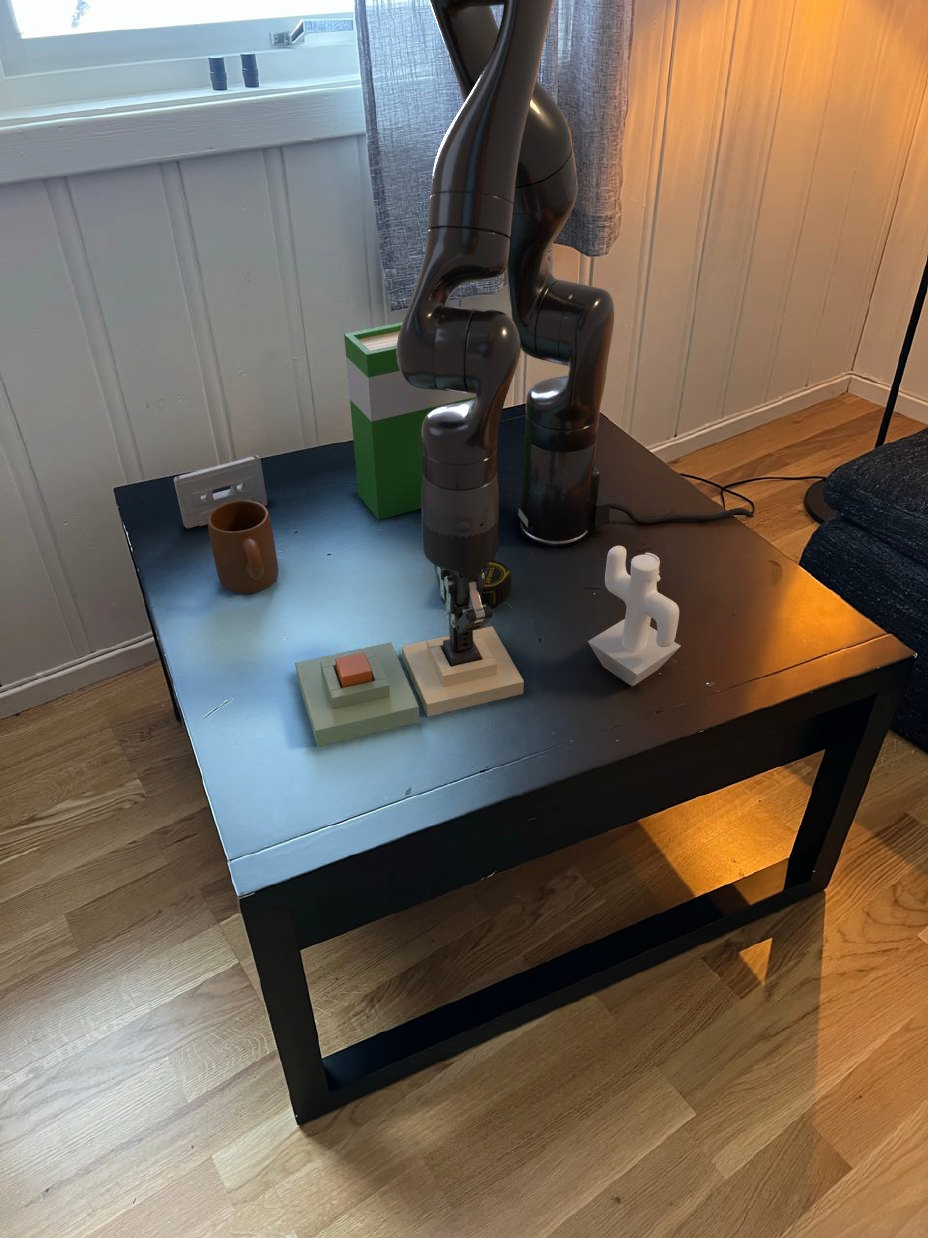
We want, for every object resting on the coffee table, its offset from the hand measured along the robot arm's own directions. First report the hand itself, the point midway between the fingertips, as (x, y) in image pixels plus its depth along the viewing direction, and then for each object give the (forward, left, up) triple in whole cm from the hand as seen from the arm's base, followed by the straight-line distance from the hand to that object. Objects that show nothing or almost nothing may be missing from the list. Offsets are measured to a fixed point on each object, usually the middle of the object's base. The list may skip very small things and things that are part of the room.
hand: (461, 646), depth 102 cm
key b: (+12, 0, -1) cm, 12 cm away
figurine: (-18, +5, -5) cm, 20 cm away
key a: (0, 0, -2) cm, 2 cm away
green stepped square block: (+12, 0, -4) cm, 13 cm away
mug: (+20, -24, -5) cm, 31 cm away
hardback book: (-7, -39, -5) cm, 40 cm away
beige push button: (0, 0, -4) cm, 4 cm away
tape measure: (-6, -13, -5) cm, 15 cm away
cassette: (+21, -42, -5) cm, 47 cm away
